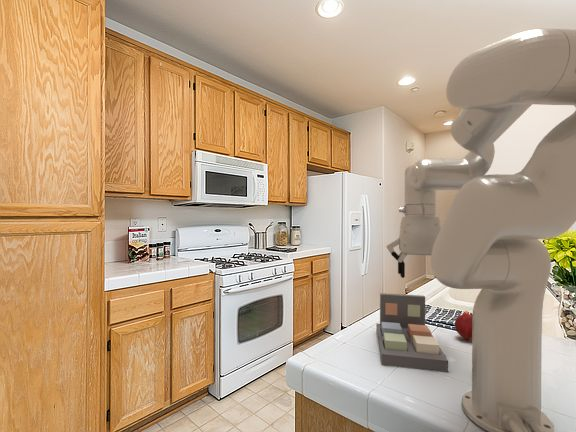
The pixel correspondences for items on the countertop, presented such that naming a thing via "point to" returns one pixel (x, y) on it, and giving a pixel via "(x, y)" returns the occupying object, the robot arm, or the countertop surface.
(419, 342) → the cream key
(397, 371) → the countertop surface
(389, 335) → the sage key
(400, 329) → the slate key
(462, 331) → the red spiky ovoid
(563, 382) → the countertop surface
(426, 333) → the terracotta key
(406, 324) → the keypad
